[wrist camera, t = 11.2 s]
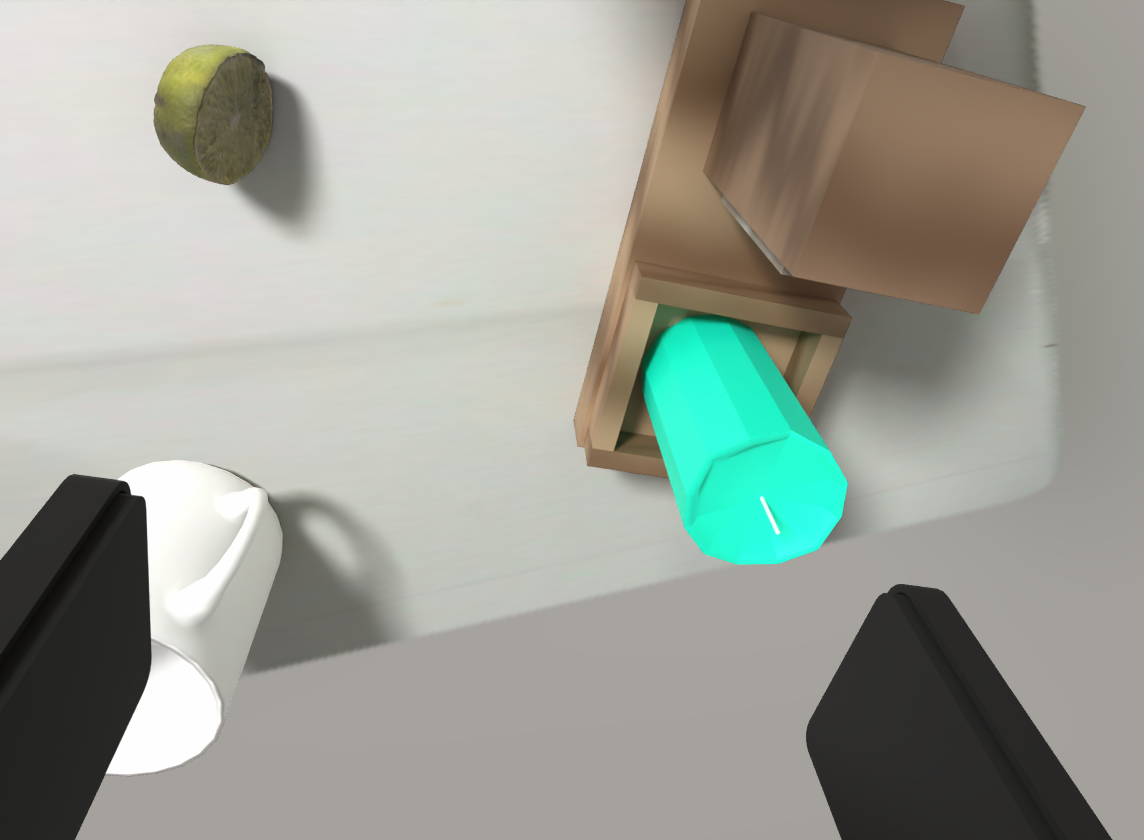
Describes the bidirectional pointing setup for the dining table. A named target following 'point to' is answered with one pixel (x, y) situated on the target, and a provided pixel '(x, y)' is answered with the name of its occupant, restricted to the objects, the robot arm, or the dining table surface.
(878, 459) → the dining table surface
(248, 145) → the lime
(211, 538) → the mug
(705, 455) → the candle
